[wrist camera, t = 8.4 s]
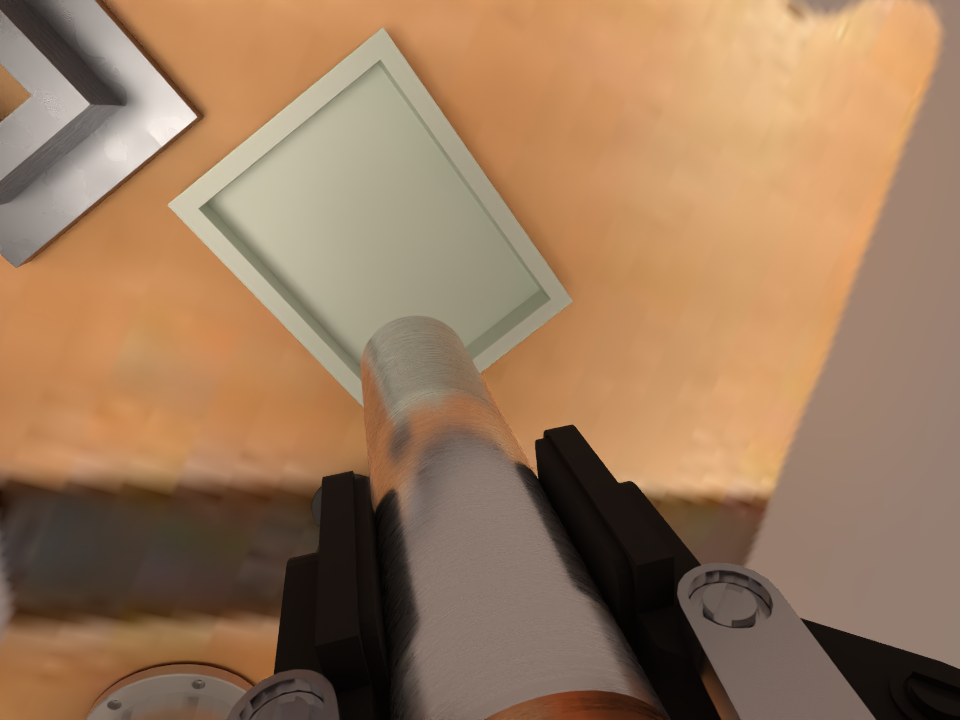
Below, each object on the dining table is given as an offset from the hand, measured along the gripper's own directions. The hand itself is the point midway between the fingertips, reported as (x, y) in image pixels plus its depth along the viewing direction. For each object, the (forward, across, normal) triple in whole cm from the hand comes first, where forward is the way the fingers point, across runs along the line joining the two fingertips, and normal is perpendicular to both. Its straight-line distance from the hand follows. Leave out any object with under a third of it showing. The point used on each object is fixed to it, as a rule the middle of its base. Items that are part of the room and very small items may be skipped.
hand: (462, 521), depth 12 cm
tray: (+27, 0, 0) cm, 27 cm away
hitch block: (+27, +16, -10) cm, 33 cm away
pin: (+8, 0, 0) cm, 8 cm away
